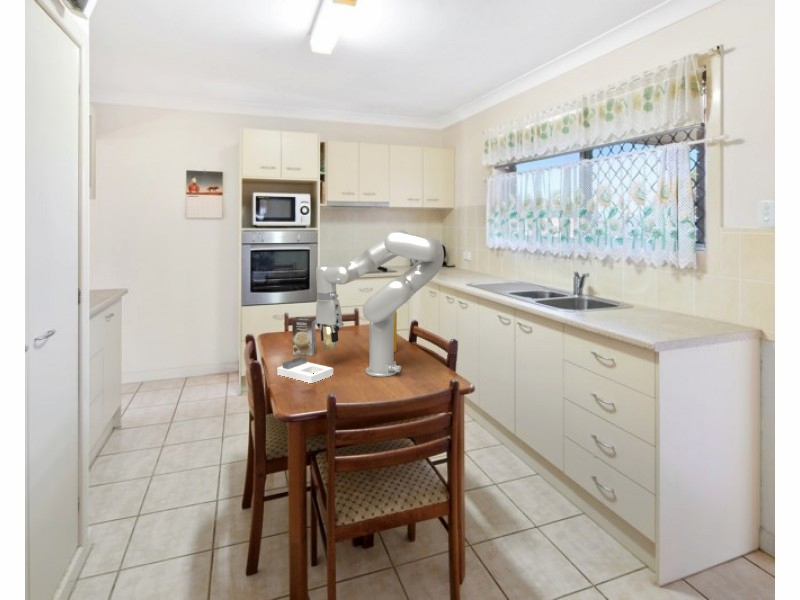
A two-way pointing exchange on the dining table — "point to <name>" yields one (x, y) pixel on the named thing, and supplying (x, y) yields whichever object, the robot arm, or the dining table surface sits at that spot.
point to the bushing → (328, 337)
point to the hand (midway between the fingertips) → (329, 340)
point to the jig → (304, 370)
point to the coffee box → (303, 336)
